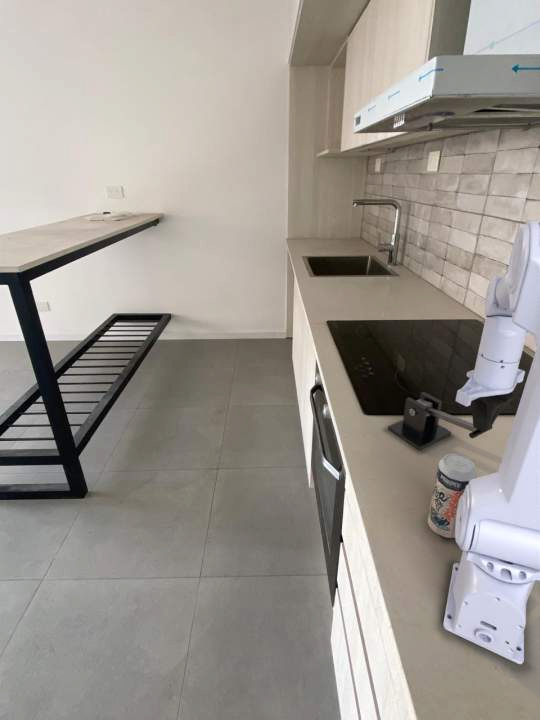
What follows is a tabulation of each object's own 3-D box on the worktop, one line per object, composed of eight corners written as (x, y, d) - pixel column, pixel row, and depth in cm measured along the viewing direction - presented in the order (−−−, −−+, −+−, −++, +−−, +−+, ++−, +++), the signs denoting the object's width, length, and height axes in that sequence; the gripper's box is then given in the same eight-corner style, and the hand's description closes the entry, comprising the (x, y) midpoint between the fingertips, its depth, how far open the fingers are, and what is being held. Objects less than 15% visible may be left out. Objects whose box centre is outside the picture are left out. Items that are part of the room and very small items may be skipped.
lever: (492, 433, 68) (493, 421, 67) (473, 443, 65) (474, 430, 65) (425, 407, 79) (425, 396, 79) (407, 414, 77) (408, 403, 76)
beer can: (420, 520, 60) (431, 457, 55) (444, 510, 61) (457, 448, 56) (444, 545, 56) (459, 479, 50) (469, 533, 57) (486, 468, 52)
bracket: (450, 436, 78) (457, 402, 75) (418, 451, 74) (424, 416, 71) (418, 417, 84) (423, 385, 81) (387, 430, 80) (391, 397, 77)
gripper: (502, 337, 67) (485, 405, 73) (445, 357, 61) (432, 430, 66) (545, 351, 61) (524, 423, 67) (488, 375, 55) (469, 453, 61)
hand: (481, 428), depth 66 cm, fingers closed, pressing on lever
